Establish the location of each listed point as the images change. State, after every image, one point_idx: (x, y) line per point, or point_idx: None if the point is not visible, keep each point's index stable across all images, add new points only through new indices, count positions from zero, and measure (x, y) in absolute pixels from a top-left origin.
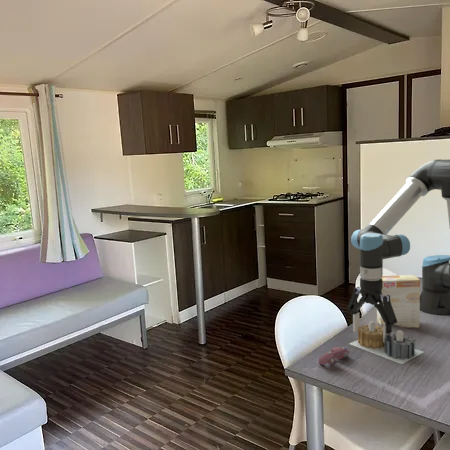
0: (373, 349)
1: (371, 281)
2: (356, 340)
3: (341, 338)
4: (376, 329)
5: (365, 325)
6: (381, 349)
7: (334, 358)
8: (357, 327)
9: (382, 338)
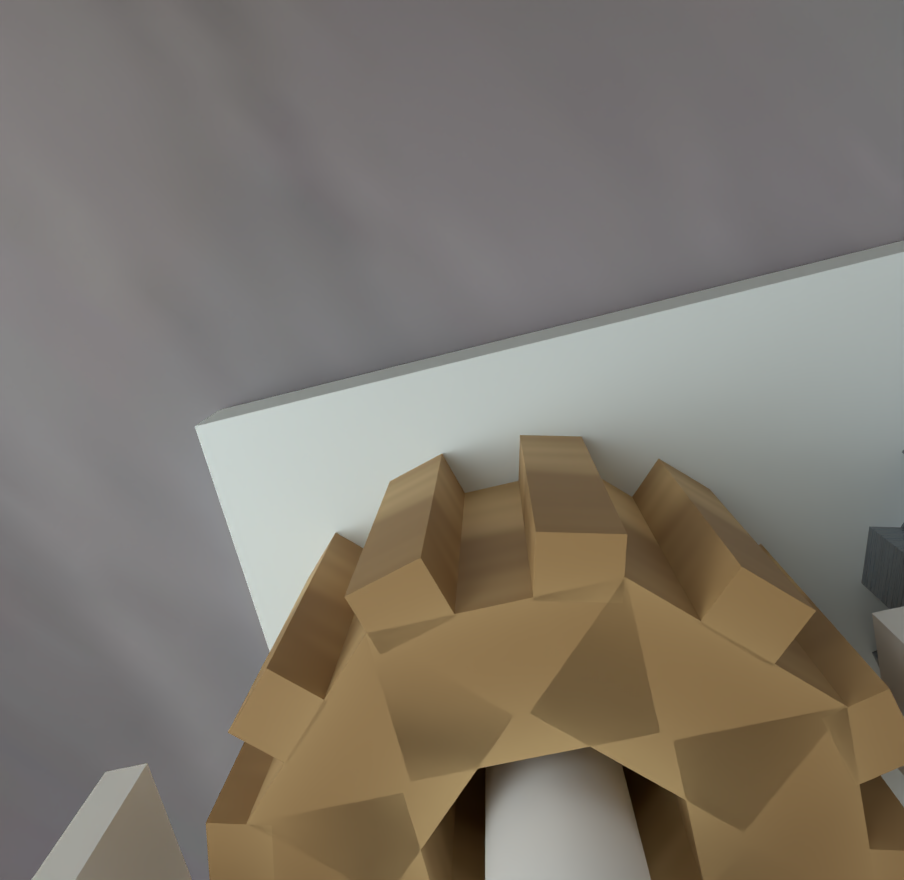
0: None
1: None
2: None
3: (50, 832)
4: (571, 736)
5: (264, 841)
6: None
7: None
8: (140, 870)
9: (879, 780)
